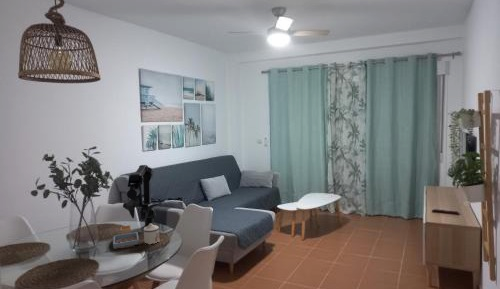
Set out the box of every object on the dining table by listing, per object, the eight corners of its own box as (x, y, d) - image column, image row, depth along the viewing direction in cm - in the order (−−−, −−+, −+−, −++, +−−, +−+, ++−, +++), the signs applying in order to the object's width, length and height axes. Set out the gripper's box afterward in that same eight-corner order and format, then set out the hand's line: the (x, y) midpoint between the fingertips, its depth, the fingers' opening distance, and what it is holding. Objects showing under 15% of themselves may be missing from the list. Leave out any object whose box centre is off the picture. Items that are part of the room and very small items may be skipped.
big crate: (114, 241, 206) (113, 235, 206) (138, 237, 211) (137, 231, 211) (113, 250, 193) (113, 244, 193) (139, 245, 198) (138, 239, 198)
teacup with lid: (158, 244, 198) (157, 225, 197) (143, 246, 197) (141, 227, 196) (161, 237, 210) (160, 219, 209) (146, 238, 209) (145, 220, 208)
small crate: (121, 235, 215) (120, 226, 214) (131, 234, 217) (130, 225, 216) (121, 239, 210) (120, 229, 209) (131, 237, 212) (130, 228, 211)
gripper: (115, 196, 200) (117, 222, 202) (141, 199, 194) (143, 225, 196) (128, 191, 210) (130, 215, 213) (153, 193, 204) (155, 218, 206)
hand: (139, 218), depth 207 cm, fingers open, 9 cm apart
